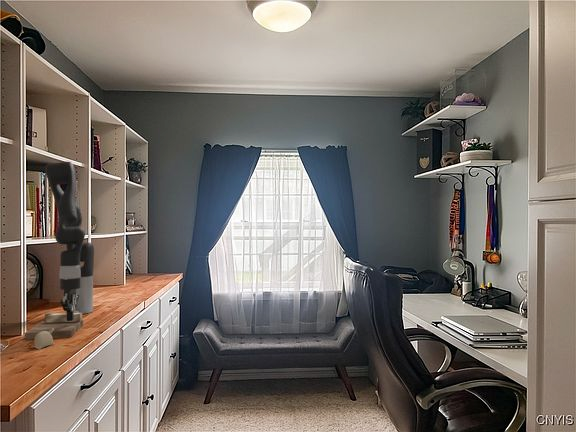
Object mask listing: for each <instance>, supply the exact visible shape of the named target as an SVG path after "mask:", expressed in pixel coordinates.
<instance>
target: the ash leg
mask: <svg viewBox="0 0 576 432" xmlns="http://www.w3.org/2000/svg"><path fill="white" fill-rule="evenodd" d="M82 319H83V314H82V313H74V320H72V321H67V312H62V313H56V312H55V313H51V312H48V313H45V314H44V321H45V323H52V322H79V321H81V320H82Z"/></svg>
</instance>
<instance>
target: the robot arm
mask: <svg viewBox="0 0 576 432" xmlns="http://www.w3.org/2000/svg"><path fill="white" fill-rule="evenodd" d="M44 170H45V176H46V179H47V181H48V185H49V187H50V190H51V193H52V196H53V199H54V202H55V206H56V210H57V211H56V212H57V219H58V220H57V221H58V222H57V228H56V231H55V234H54V236H55V237H54V238H55V241H56V242H57V244H59V245H65V246H66V249H65V250H62V251H61V252H60V255H59V256H60V260H59V261H60V263H59V265H60V268H59V290H61V291H62V290H63V294H62V296H63V297H62V299H60V304H61V307H62V309H63V311H64V312H65V313H67V321H72V320H74V311H79V313H82V315H85V314H89V313H93V311H94V263H95V262H94V261H95V260H94V259H95V247H94V244H93V243H92V242H84V241H85V237H86V231H85V229H84V228H83V227H82V226H81V225H82V222H83V216H82V212H81V207H80V206H79V204H78V203H77V202H76V198H77V197H76V196H77V194H76V193H77V176H76V175H77V174H76V170H75V166H74V164H73V163H72V162H71V161H61V162H51V163H48V164H46V165H45V169H44ZM65 184H66V185H67V186H66V188H65V190H64V191H63V190H62V189H63V188H61V186H60V185H65ZM81 263H83V265H82V266H81Z"/></svg>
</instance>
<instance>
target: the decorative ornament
mask: <svg viewBox="0 0 576 432" xmlns="http://www.w3.org/2000/svg"><path fill="white" fill-rule="evenodd" d="M53 330H54V328H52V329H51V330H50V331H49V332H48V331H42V332H39V333H38V334H37V335H36V337H35V339H33V340H34V342H33V344H34V346H33V348H34V349H38V350H41V349H42V348H44V347H45V348H46V347H47V346H50V345H51V346H52V345H54V344H55V342H54V338H52V335H51V333H52V332H53ZM55 345H56V344H55Z"/></svg>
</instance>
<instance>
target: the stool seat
mask: <svg viewBox="0 0 576 432" xmlns="http://www.w3.org/2000/svg"><path fill="white" fill-rule="evenodd" d="M74 313H79V311H74ZM83 326H84V319H83V318H82V320H81V321H79V322H52V323H45V320H44V321H43V320H42V321H40V322H39V323H37V324H36V325H34V326H33V327H31V328H30V329H29V330H27V331H25V332H24V340H25V341H26V340H35V337H36V335H37V334H38V333H39V332H42V331H48V332H49V331H50V330H51V329H52V328H54V330H53V332H52V333H51V335H52V338H53V339H58V338H60V337H63V338H72V337H73V336H74V335H75V334H77V332H78V331H80V329H81V328H82V327H83Z"/></svg>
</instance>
